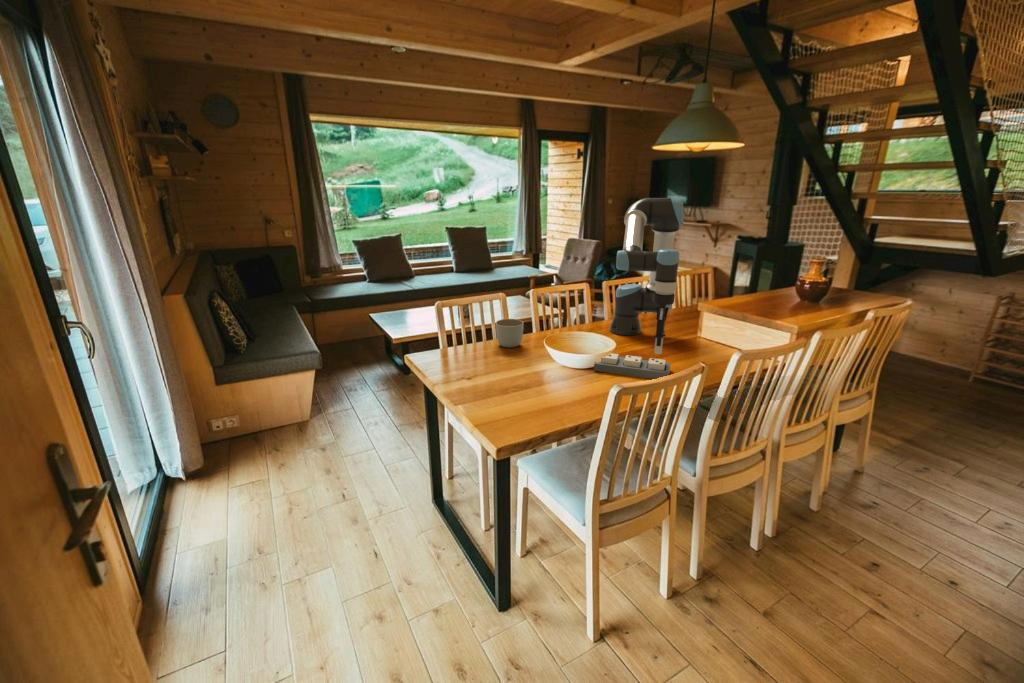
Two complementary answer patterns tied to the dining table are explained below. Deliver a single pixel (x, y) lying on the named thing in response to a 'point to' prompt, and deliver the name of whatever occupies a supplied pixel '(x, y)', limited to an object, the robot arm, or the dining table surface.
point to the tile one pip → (610, 359)
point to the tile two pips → (632, 361)
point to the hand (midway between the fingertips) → (657, 353)
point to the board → (632, 369)
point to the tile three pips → (656, 364)
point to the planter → (509, 332)
